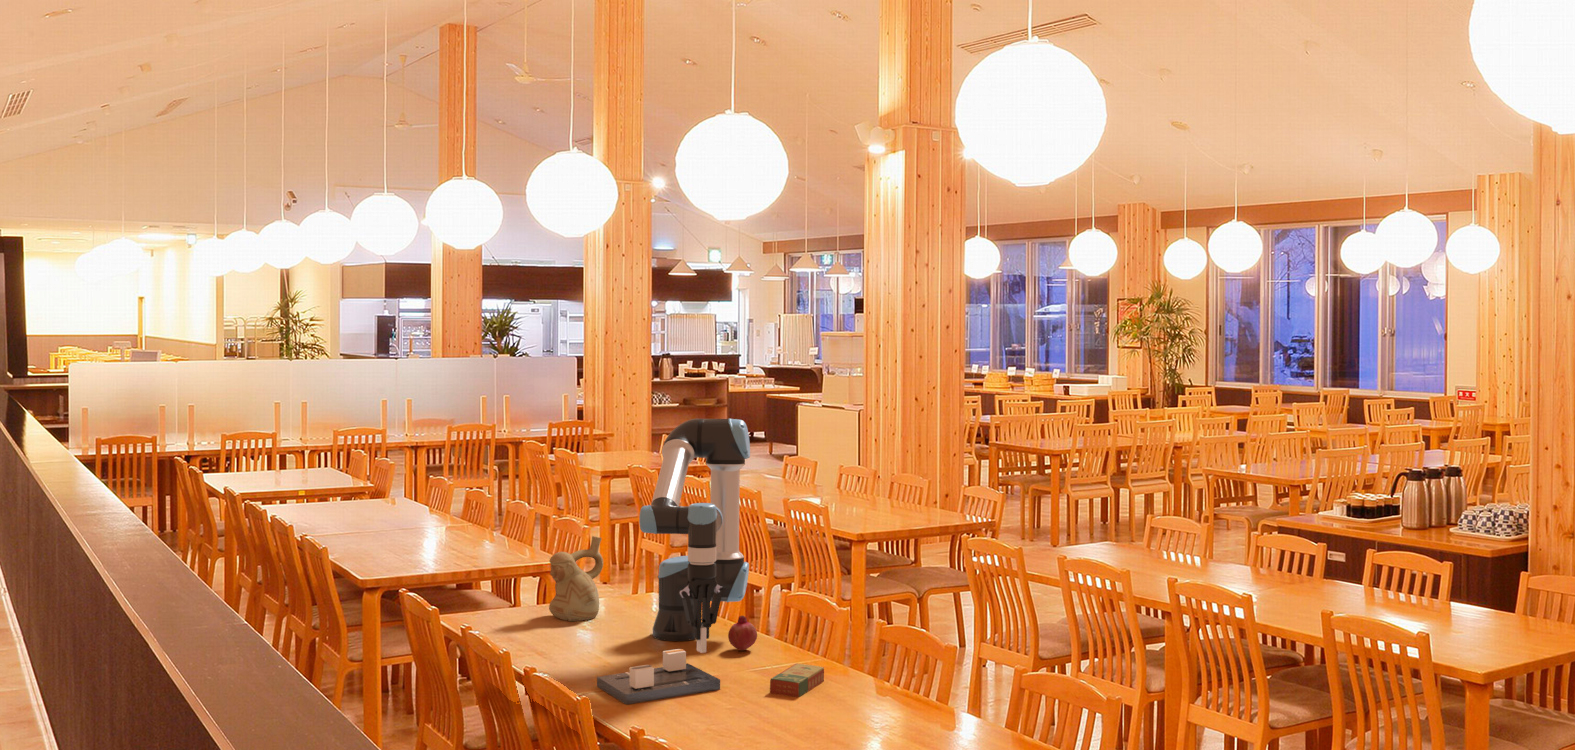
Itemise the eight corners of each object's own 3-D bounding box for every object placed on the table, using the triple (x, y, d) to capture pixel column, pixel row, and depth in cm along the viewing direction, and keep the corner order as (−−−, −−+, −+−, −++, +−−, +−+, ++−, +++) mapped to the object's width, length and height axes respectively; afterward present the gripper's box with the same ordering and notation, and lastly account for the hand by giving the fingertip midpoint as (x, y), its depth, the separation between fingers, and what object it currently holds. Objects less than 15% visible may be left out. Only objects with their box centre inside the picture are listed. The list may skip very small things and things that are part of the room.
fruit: (734, 655, 357) (734, 619, 357) (724, 648, 364) (724, 613, 364) (761, 652, 360) (761, 617, 360) (750, 645, 368) (750, 611, 367)
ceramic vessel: (536, 617, 402) (535, 538, 401) (588, 608, 415) (588, 532, 414) (565, 627, 389) (565, 545, 388) (618, 617, 403) (618, 538, 402)
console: (687, 672, 339) (688, 662, 339) (720, 689, 324) (720, 679, 323) (597, 686, 325) (597, 676, 325) (626, 704, 310) (626, 693, 310)
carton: (824, 682, 332) (824, 666, 331) (799, 699, 317) (799, 682, 317) (795, 678, 335) (795, 662, 335) (769, 694, 321) (769, 677, 320)
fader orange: (680, 665, 335) (680, 648, 335) (686, 668, 332) (686, 651, 332) (662, 668, 332) (662, 650, 332) (668, 671, 329) (668, 653, 329)
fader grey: (647, 682, 319) (647, 663, 319) (653, 685, 316) (653, 667, 316) (629, 685, 317) (629, 666, 316) (635, 688, 314) (635, 669, 313)
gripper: (717, 558, 342) (716, 645, 342) (673, 562, 335) (672, 651, 336) (730, 562, 336) (730, 651, 336) (686, 566, 329) (685, 657, 329)
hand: (701, 651), depth 336 cm, fingers closed
